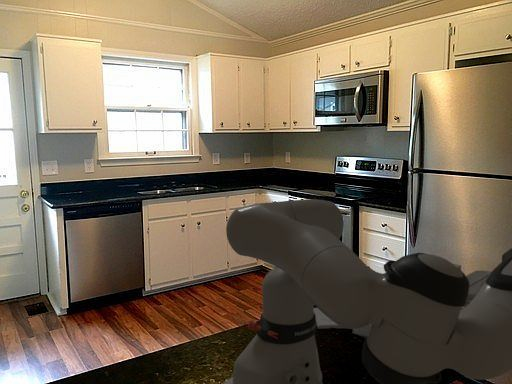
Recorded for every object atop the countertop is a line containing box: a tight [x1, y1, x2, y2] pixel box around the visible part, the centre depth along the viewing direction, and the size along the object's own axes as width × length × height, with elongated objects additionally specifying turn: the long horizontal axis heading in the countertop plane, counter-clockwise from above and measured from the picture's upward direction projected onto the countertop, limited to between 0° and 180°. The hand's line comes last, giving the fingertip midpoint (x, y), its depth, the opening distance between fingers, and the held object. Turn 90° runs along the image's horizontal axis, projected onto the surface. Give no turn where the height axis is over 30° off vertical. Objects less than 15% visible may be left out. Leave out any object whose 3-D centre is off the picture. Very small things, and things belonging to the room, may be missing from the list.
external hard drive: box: [314, 307, 345, 330], centre depth 126 cm, size 2×8×12 cm
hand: (441, 280), depth 113 cm, fingers closed on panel, 5 cm apart
